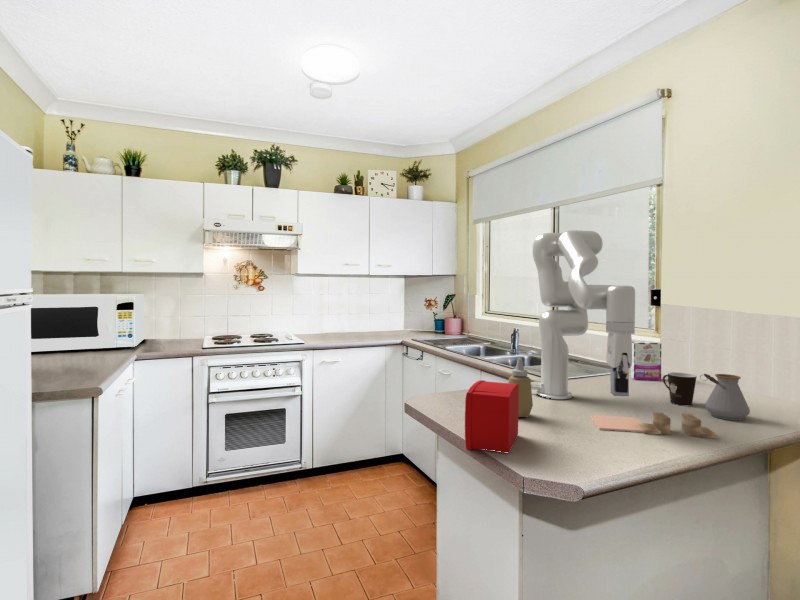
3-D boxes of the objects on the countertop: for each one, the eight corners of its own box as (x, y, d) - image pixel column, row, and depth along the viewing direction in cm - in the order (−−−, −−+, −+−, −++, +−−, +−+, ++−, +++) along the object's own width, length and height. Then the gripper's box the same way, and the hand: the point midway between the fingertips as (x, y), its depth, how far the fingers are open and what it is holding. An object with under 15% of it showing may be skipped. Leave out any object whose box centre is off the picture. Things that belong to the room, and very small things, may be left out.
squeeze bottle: (533, 413, 146) (534, 357, 145) (531, 420, 138) (532, 361, 138) (507, 411, 149) (508, 355, 148) (504, 418, 141) (505, 359, 140)
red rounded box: (479, 430, 129) (479, 377, 129) (518, 435, 125) (519, 380, 125) (464, 449, 114) (464, 389, 114) (508, 455, 110) (509, 393, 110)
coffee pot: (714, 409, 152) (716, 364, 151) (756, 418, 142) (757, 370, 142) (681, 419, 140) (683, 370, 140) (724, 429, 131) (726, 377, 130)
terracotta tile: (599, 429, 130) (599, 427, 130) (590, 417, 143) (590, 415, 143) (649, 433, 127) (649, 430, 127) (635, 419, 140) (635, 417, 140)
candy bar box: (656, 378, 203) (657, 341, 202) (661, 381, 198) (662, 343, 198) (629, 377, 205) (630, 340, 204) (633, 379, 200) (634, 342, 199)
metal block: (613, 396, 133) (613, 371, 133) (610, 392, 137) (610, 369, 137) (628, 396, 132) (628, 372, 132) (625, 393, 136) (624, 369, 136)
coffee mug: (700, 407, 155) (701, 377, 155) (672, 405, 157) (672, 376, 156) (686, 398, 166) (686, 371, 166) (660, 397, 168) (660, 370, 168)
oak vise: (644, 433, 127) (645, 417, 126) (637, 426, 133) (637, 410, 133) (718, 438, 123) (718, 421, 123) (706, 430, 130) (706, 414, 130)
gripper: (600, 325, 143) (599, 384, 143) (613, 330, 127) (612, 396, 127) (626, 326, 141) (625, 385, 142) (643, 330, 125) (642, 397, 125)
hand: (619, 389), depth 134 cm, fingers closed on metal block, 4 cm apart
